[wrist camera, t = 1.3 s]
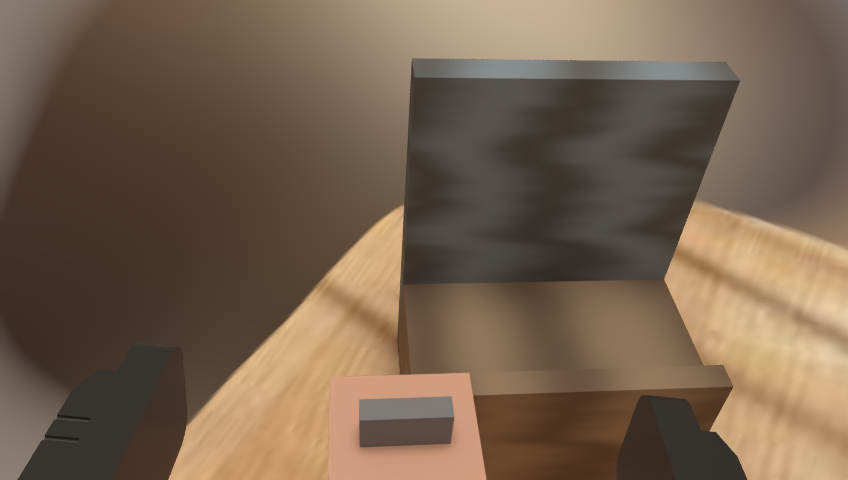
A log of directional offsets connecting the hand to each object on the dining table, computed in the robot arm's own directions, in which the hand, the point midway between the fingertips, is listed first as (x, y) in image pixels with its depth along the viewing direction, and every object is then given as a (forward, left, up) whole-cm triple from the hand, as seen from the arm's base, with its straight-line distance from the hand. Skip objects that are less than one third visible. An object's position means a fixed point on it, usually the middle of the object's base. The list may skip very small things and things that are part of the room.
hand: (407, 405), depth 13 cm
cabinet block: (+2, -6, -22) cm, 23 cm away
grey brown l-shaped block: (0, -18, -22) cm, 29 cm away
